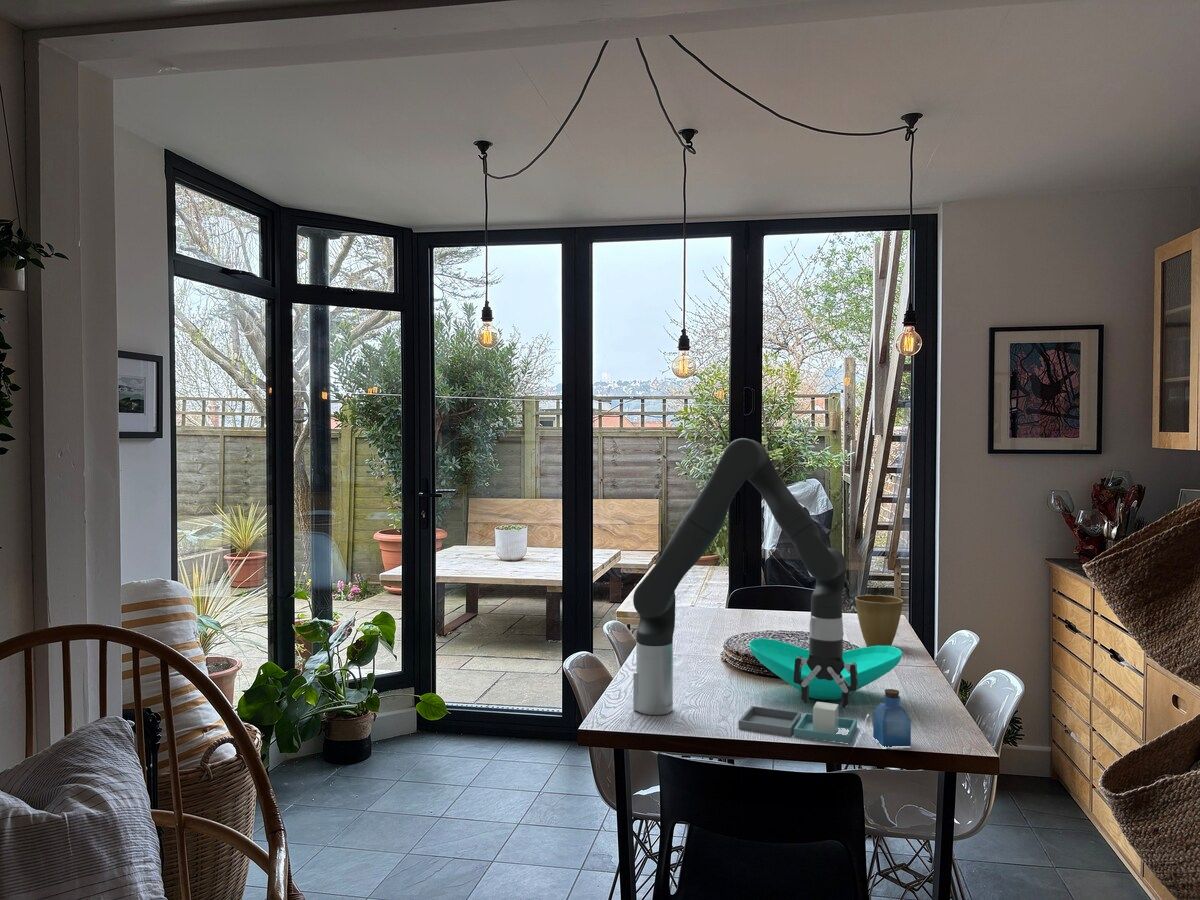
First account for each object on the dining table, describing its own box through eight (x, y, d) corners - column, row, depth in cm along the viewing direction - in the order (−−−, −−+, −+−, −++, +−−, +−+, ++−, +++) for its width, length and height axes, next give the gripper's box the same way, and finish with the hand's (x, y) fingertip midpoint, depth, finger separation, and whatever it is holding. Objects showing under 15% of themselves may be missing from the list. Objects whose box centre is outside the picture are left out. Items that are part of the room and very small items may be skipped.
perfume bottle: (899, 739, 194) (900, 686, 194) (910, 749, 188) (911, 695, 188) (873, 739, 194) (873, 687, 194) (883, 749, 188) (883, 695, 188)
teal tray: (794, 739, 194) (794, 728, 194) (804, 722, 205) (804, 712, 205) (849, 747, 189) (849, 736, 189) (856, 729, 200) (856, 719, 200)
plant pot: (909, 653, 271) (909, 603, 271) (862, 652, 271) (862, 603, 271) (894, 641, 286) (894, 594, 285) (849, 641, 286) (849, 594, 286)
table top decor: (743, 706, 218) (743, 655, 217) (752, 676, 244) (752, 630, 244) (907, 719, 207) (908, 665, 207) (898, 687, 234) (898, 639, 234)
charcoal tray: (738, 730, 200) (738, 720, 200) (751, 715, 211) (751, 705, 211) (790, 738, 195) (790, 728, 195) (801, 722, 206) (801, 712, 206)
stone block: (812, 733, 196) (812, 707, 196) (816, 726, 201) (816, 701, 200) (834, 736, 194) (835, 710, 194) (838, 729, 199) (838, 704, 198)
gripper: (791, 635, 196) (790, 705, 197) (855, 642, 190) (854, 714, 191) (798, 628, 203) (797, 696, 203) (860, 635, 197) (859, 704, 198)
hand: (825, 704), depth 197 cm, fingers open, 8 cm apart
